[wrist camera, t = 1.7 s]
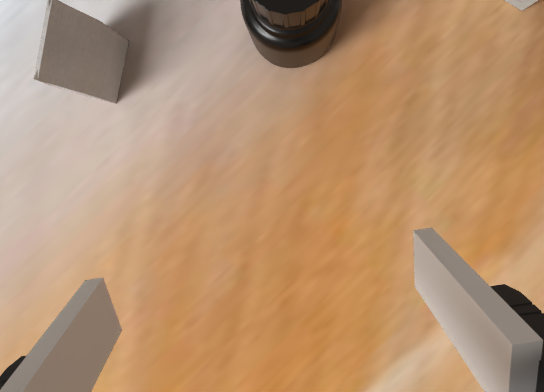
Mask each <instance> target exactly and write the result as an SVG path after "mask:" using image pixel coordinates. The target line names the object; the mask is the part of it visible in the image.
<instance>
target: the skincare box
mask: <svg viewBox="0 0 544 392" xmlns="http://www.w3.org/2000/svg"><path fill="white" fill-rule="evenodd" d="M505 1H506V2H508V3H509V4H511V5H513V6H514V7H516V8H518V9H519V10H521V11H523V10H525V9H526V8H528V7H529V6H531V5H532V4H534V3H535V2H537V1H538V0H505Z"/></svg>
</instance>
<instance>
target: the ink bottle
mask: <svg viewBox="0 0 544 392" xmlns="http://www.w3.org/2000/svg"><path fill="white" fill-rule="evenodd" d="M240 2H241V11H242V15H243V19H244V22H245V24H246V26H247V29H248V31H249V33H250V36H251V38H252V40H253V43H254V45H255V46H256V48H257V50H258V51H259V52H260V54H261V55H262V56H263V57H264V58H265V59H267V60H268V61H269V62H271V63H272V64H274V65H277V66H280V67H284V68H297V67H302V66H305V65H308V64H310V63H312V62H314V61H315V60H317V59H318V58H320V57H321V56H322V55H323V54H324V53H325V52H326V51H327V50H328V48H329V47H330V45H331V44H332V42H333V40H334V37H335V34H336V30H337V26H338V21H339V17H340V12H341V7H342V0H240Z"/></svg>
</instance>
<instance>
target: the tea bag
mask: <svg viewBox="0 0 544 392" xmlns="http://www.w3.org/2000/svg"><path fill="white" fill-rule="evenodd" d="M128 44H129V41H128V40H127V39H125V38H124V37H122V36H121V35H119V34H118V33H116V32H115V31H114V30H112V29H111V28H109V27H108V26H106V25H105V24H103V23H102V22H101V21H99V20H97V19H95V18H93V17H91V16H89V15H87V14H84V13H82V12H80V11H78V10H76V9H74V8H72V7H70V6H68V5H66V4H64V3H62V2H60V1H58V0H48V3H47V8H46V14H45V19H44V25H43V31H42V36H41V42H40V47H39V53H38V58H37V64H36V70H35V75H34V79H35V80H38V81H41V82H43V83H46V84H48V85H51V86H55V87H58V88H61V89H64V90H68V91H71V92H74V93H77V94H81V95H84V96H88V97H92V98H96V99H100V100H104V101H108V102H112V103H117V98H118V93H119V88H120V83H121V78H122V74H123V69H124V64H125V59H126V54H127V49H128Z"/></svg>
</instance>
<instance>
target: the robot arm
mask: <svg viewBox="0 0 544 392" xmlns="http://www.w3.org/2000/svg"><path fill="white" fill-rule="evenodd" d="M413 241H414V274H415V288H416V289H417V291H418V292H419V294H420V295H421V297H422V298H423V300H424V301H425V303H426V304H427V306H428V307H429V309H430V310H431V312H432V313H433V315H434V316H435V318H436V319H437V321H438V322H439V324H440V325H441V327H442V328H443V330H444V331H445V333H446V334H447V336H448V337H449V339H450V340H451V342H452V343H453V345H454V346H455V348H456V349H457V351H458V352H459V354H460V355H461V357H462V358H463V360H464V361H465V363H466V364H467V366H468V367H469V369H470V370H471V372H472V373H473V375H474V376H475V378H476V379H477V381H478V382H479V384H480V385H481V387H482V388H483V390H484V391H485V392H544V313H541V310H539V309H538V308H537V307H536V306H535V305H532V302H531V301H530V300H528V299H527V298H526V297H525V296H524V295H523V294H522V293H521V292H519V291H517V290H515V289H513V288H511V287H509V286H507V285H505V284H503V285H496V286H489V285H488V284H487V283H486V282H485V281H484V280H483V279H482V278H481V277H480V276H479V275H478V274H477V273H476V272H475V271H474V270H473V269H472V268H471V267H470V266H469V265H468V264H467V263H466V262H465V261H464V260H463V259H462V258H461V257H460V256H459V255H458V254H457V253H456V252H455V251H454V250H453V249H452V248H451V247H450V246H449V245H448V243H447V242H446V241H445V240H444V239H443V238H442V237H441V236H440V235H439V234H438V233H437V232H436V231H435V230H434V229H433V228H425V229H419V230H413ZM121 331H122V329H121V326H120V323H119V320H118V318H117V315H116V312H115V309H114V306H113V304H112V301H111V298H110V295H109V293H108V290H107V287H106V284H105V282H104V279H103V278H97V279H91V280H85V282H84V283H83V284H82V285H81V287H80V288H79V289H78V291H77V292H76V293H75V294H74V296H73V297H72V298H71V300H70V301H69V302H68V303H67V305H66V306H65V307H64V309H63V310H62V311H61V312H60V314H59V315H58V316H57V318H56V319H55V320H54V321H53V323H52V324H51V325H50V327H49V328H48V329H47V330H46V332H45V333H44V334H43V336H42V337H41V338H40V339H39V341H38V342H37V343H36V345H35V346H34V347H33V348H32V350H31V351H30V352H29V354H28V355H27V356H21V357H20V358H19V359H18V360H16V361H15V362H14V363H13V364H12V365H10V366H9V367H8V368H7V369H6V370H5V371H4V372H3V374H2V375H1V376H0V392H91V391H92V389H93V387H94V385H95V383H96V381H97V379H98V377H99V375H100V373H101V371H102V369H103V367H104V365H105V363H106V361H107V359H108V357H109V355H110V353H111V351H112V349H113V347H114V345H115V343H116V341H117V339H118V337H119V335H120V333H121Z"/></svg>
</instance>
